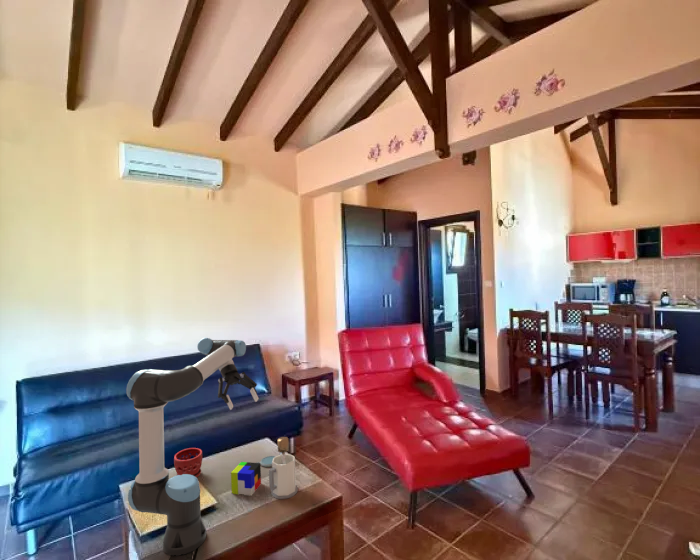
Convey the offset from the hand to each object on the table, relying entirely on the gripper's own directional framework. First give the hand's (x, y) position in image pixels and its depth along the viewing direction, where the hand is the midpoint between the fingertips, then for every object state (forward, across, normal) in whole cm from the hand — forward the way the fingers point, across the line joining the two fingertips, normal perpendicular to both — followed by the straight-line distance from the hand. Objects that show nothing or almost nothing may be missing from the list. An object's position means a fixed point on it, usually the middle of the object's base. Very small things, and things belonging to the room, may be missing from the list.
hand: (244, 404), depth 179 cm
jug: (+40, -9, -16) cm, 44 cm away
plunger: (+38, -9, -15) cm, 42 cm away
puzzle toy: (+29, +1, -28) cm, 40 cm away
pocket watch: (+21, -21, -36) cm, 46 cm away
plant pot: (+6, +14, -50) cm, 53 cm away
